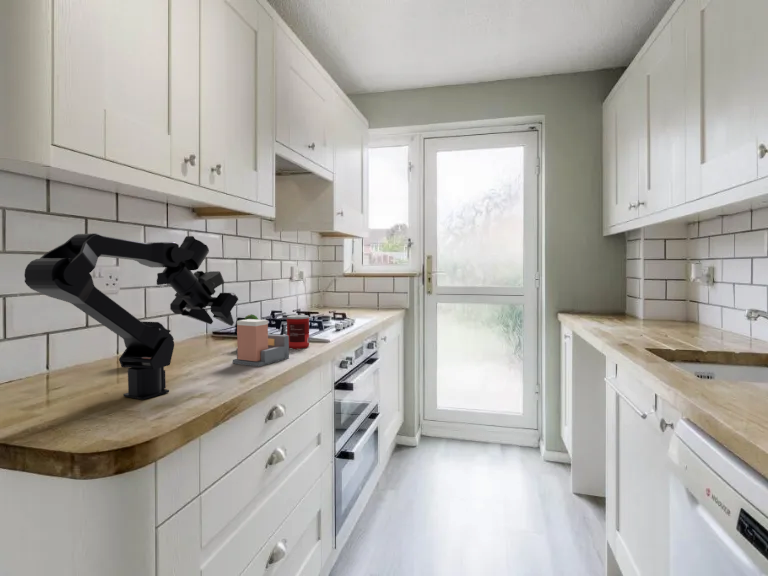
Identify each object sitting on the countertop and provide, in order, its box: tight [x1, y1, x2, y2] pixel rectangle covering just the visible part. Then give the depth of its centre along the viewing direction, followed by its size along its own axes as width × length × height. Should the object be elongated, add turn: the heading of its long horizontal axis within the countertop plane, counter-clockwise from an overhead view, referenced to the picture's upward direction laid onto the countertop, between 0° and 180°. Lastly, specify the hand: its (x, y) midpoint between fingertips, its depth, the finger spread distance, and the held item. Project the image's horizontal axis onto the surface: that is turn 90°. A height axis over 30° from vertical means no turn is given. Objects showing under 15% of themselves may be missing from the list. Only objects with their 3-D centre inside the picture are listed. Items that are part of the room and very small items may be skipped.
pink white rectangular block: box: [236, 319, 269, 361], centre depth 126 cm, size 5×7×11 cm
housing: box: [232, 333, 290, 367], centre depth 129 cm, size 13×11×7 cm
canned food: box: [286, 314, 310, 350], centre depth 152 cm, size 8×8×11 cm
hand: (222, 323), depth 115 cm, fingers open, 7 cm apart
